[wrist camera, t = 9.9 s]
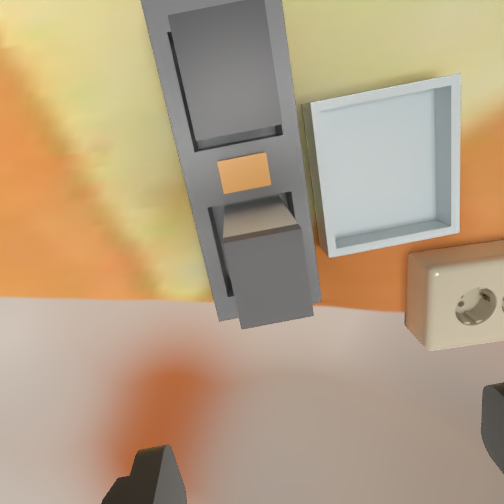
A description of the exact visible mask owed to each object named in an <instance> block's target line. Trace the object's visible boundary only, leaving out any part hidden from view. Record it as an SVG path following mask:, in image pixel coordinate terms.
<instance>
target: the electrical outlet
mask: <svg viewBox="0 0 504 504" xmlns="http://www.w3.org/2000/svg"><path fill="white" fill-rule="evenodd" d="M404 324H405V326H406V327H407V328H408V329H409V330H410V332H411V333H412V334H413V335H414V336H415V337H416V338H417V339H418V341H419V342H420V343H421V344H422V345H423V346H424V347H425V348H426V349H427V350H429V351H434V350H441V349H448V348H455V347H462V346H469V345H475V344H483V343H489V342H497V341H503V340H504V240H497V241H490V242H483V243H476V244H469V245H462V246H455V247H447V248H440V249H433V250H426V251H419V252H412V253H409V254H408V261H407V312H405V319H404Z"/></svg>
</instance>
